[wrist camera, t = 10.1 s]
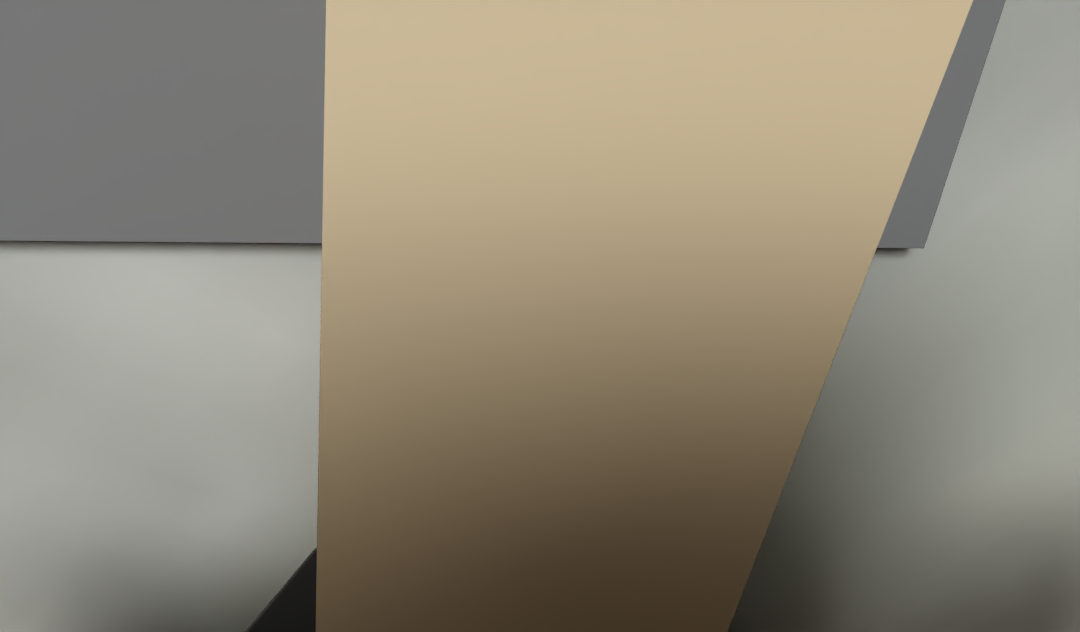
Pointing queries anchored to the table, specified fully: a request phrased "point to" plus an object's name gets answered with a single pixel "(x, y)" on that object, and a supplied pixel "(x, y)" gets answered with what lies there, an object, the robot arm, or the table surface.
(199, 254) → the table surface
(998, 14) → the tool mat
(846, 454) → the table surface
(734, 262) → the pusher tool
